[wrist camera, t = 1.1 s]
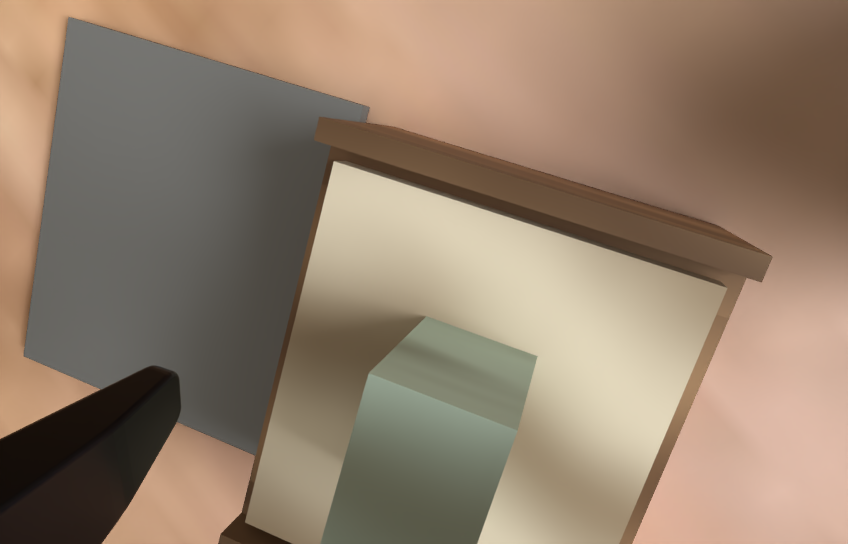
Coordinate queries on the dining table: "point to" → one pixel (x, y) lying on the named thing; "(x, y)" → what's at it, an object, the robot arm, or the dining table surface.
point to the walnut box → (548, 205)
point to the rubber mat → (176, 223)
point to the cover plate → (508, 296)
